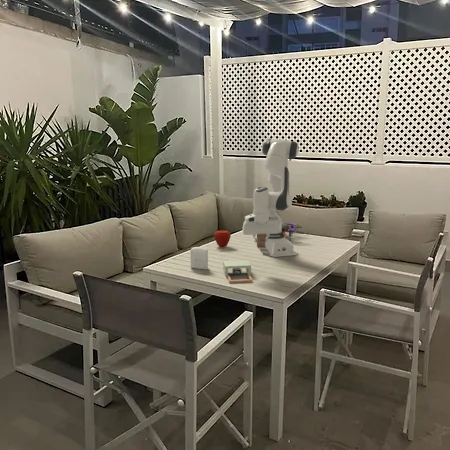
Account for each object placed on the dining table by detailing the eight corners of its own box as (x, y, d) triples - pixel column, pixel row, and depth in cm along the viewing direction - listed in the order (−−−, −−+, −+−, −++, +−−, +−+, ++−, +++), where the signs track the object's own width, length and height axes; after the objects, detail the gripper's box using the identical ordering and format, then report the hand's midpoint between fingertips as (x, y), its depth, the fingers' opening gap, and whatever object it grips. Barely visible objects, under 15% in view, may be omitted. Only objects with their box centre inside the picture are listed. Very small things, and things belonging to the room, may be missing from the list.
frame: (249, 276, 244) (249, 274, 243) (252, 282, 234) (252, 280, 234) (227, 277, 242) (227, 275, 242) (229, 283, 233) (229, 281, 233)
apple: (233, 247, 304) (233, 229, 301) (220, 249, 298) (220, 231, 296) (224, 244, 313) (224, 227, 311) (211, 246, 307) (211, 229, 305)
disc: (240, 271, 252) (240, 267, 252) (242, 274, 247) (242, 270, 247) (231, 272, 252) (231, 268, 251) (233, 275, 247) (233, 270, 246)
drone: (249, 225, 327) (265, 218, 351) (249, 238, 329) (265, 231, 353) (302, 231, 308) (315, 223, 332) (301, 244, 310) (315, 236, 334)
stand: (248, 269, 255) (248, 260, 254) (251, 275, 245) (251, 265, 244) (223, 270, 253) (223, 261, 252) (225, 276, 244) (225, 266, 243)
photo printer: (209, 268, 259) (208, 247, 257) (206, 270, 255) (205, 249, 253) (192, 266, 263) (192, 245, 260) (189, 268, 259) (189, 247, 256)
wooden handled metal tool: (256, 246, 252) (256, 232, 250) (263, 246, 252) (264, 232, 251) (263, 255, 234) (263, 240, 233) (270, 255, 235) (270, 240, 233)
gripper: (278, 215, 251) (278, 239, 254) (241, 216, 249) (242, 241, 252) (281, 217, 245) (280, 242, 248) (243, 219, 242) (243, 244, 245)
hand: (261, 241), depth 250 cm, fingers closed on wooden handled metal tool, 4 cm apart
